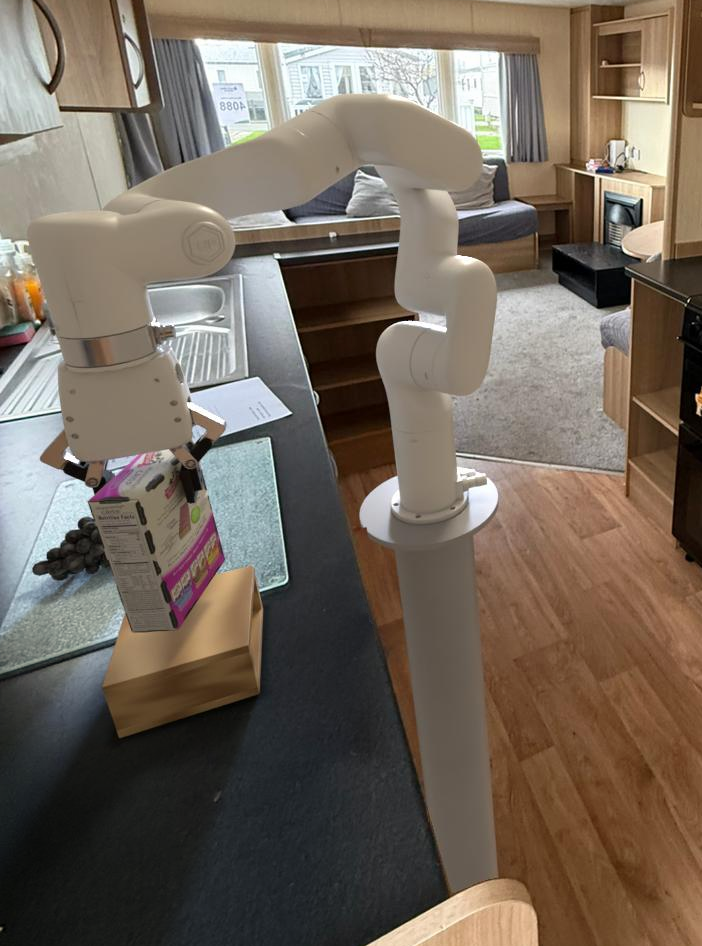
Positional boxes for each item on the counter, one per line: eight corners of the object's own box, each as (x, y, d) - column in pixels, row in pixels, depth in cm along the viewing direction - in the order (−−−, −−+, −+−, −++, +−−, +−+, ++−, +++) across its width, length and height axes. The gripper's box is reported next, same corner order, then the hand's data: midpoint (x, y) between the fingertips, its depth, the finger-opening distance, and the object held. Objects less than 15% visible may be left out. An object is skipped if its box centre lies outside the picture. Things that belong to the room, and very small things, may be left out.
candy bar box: (182, 562, 77) (150, 440, 71) (227, 560, 77) (198, 439, 72) (126, 636, 66) (83, 499, 61) (177, 633, 67) (139, 497, 61)
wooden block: (263, 609, 84) (253, 564, 81) (259, 694, 72) (248, 645, 69) (144, 641, 79) (130, 595, 76) (119, 738, 67) (101, 687, 64)
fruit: (15, 539, 82) (154, 495, 91) (23, 526, 89) (153, 486, 98) (36, 602, 83) (172, 552, 92) (43, 585, 90) (169, 540, 99)
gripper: (219, 320, 68) (250, 468, 74) (11, 344, 61) (64, 505, 68) (212, 343, 62) (246, 504, 68) (-21, 373, 55) (40, 548, 61)
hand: (155, 503), depth 68 cm, fingers closed on candy bar box, 6 cm apart
